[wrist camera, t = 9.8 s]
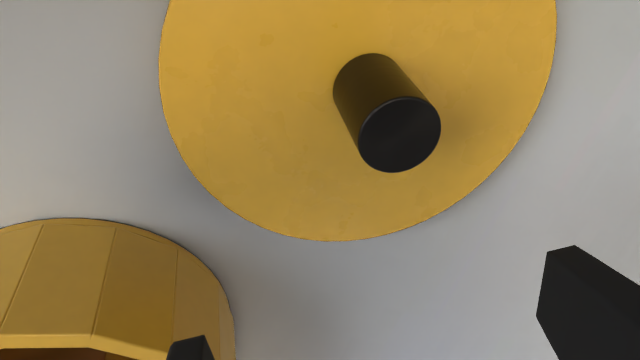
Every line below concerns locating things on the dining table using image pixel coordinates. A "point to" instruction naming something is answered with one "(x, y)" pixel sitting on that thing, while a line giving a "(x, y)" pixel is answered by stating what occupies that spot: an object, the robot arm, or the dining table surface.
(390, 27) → the tin lid
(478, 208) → the dining table surface
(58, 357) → the walnut block
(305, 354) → the dining table surface
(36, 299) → the tin
